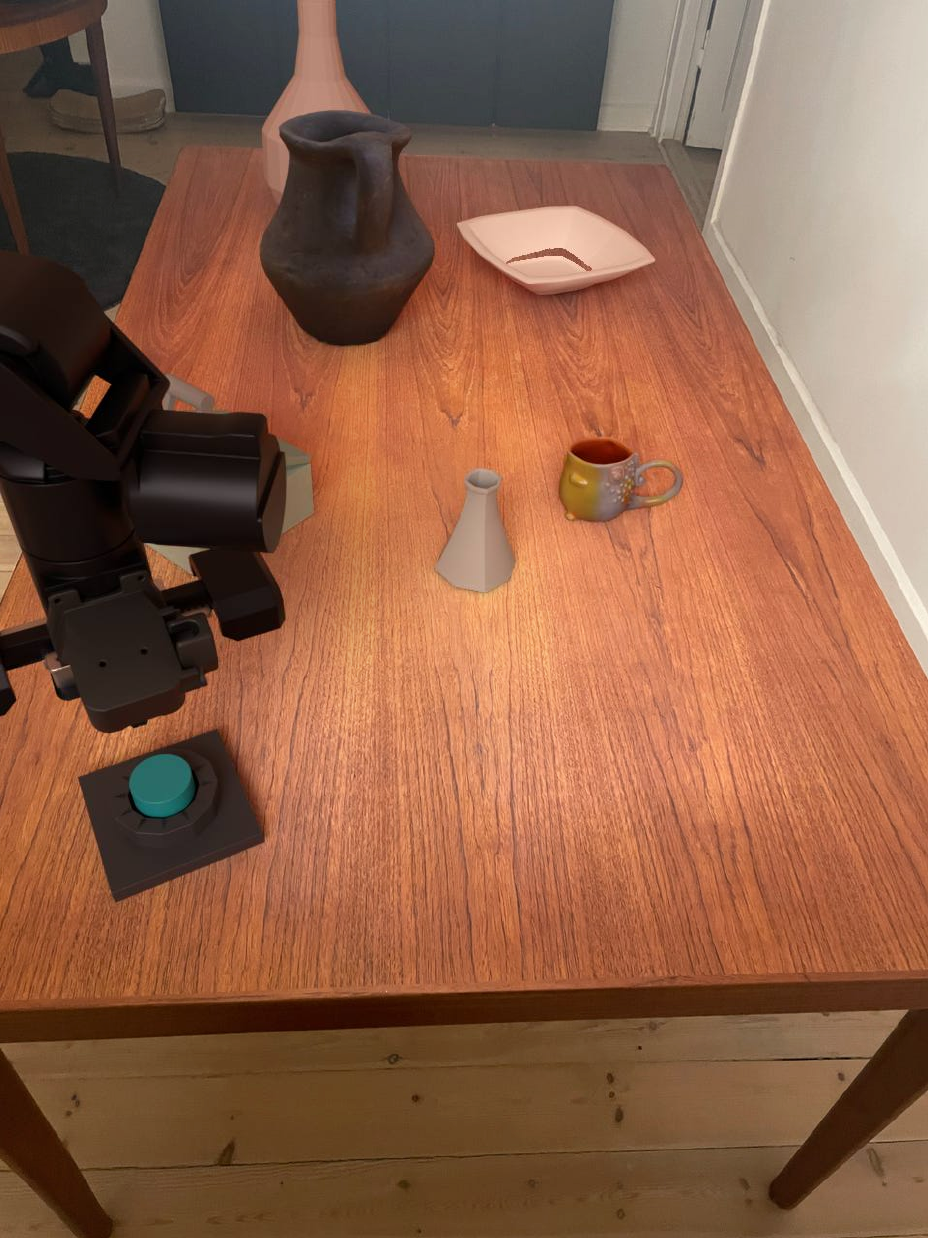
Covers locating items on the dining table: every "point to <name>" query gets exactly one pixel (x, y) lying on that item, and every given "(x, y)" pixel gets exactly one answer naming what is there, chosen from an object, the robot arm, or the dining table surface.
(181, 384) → the lid
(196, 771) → the panel
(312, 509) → the gray-green storage box
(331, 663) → the dining table surface
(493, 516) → the flask
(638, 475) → the mug
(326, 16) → the vase
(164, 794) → the button
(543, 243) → the bowl
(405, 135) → the pitcher
